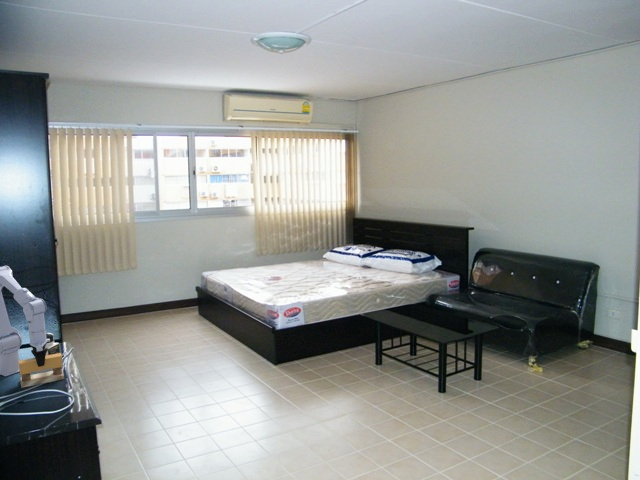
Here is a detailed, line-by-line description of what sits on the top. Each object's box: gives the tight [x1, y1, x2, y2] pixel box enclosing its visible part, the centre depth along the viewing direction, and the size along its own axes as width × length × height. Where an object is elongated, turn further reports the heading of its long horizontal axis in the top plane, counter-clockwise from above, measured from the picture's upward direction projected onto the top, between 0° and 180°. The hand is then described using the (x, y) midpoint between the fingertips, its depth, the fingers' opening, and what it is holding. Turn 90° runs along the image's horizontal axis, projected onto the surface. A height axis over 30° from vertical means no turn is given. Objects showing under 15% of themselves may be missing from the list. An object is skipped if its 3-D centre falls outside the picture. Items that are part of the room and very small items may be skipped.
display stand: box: [20, 367, 65, 389], centre depth 207 cm, size 15×8×4 cm, turn 120°
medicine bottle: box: [45, 332, 61, 356], centre depth 227 cm, size 7×7×12 cm
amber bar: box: [19, 352, 64, 376], centre depth 206 cm, size 15×4×4 cm, turn 120°
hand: (40, 363), depth 206 cm, fingers open, 6 cm apart
